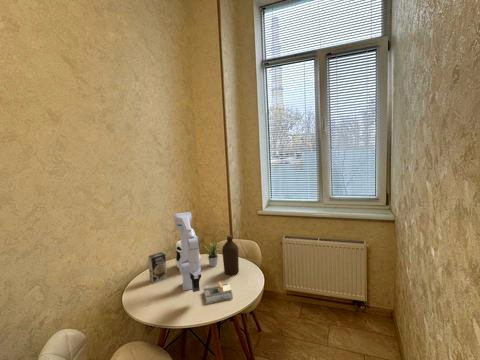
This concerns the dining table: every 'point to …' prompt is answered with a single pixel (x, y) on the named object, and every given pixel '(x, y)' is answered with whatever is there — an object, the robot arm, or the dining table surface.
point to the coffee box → (157, 267)
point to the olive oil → (230, 257)
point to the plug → (195, 288)
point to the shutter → (224, 288)
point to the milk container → (180, 253)
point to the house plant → (213, 254)
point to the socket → (218, 296)
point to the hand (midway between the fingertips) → (196, 285)
